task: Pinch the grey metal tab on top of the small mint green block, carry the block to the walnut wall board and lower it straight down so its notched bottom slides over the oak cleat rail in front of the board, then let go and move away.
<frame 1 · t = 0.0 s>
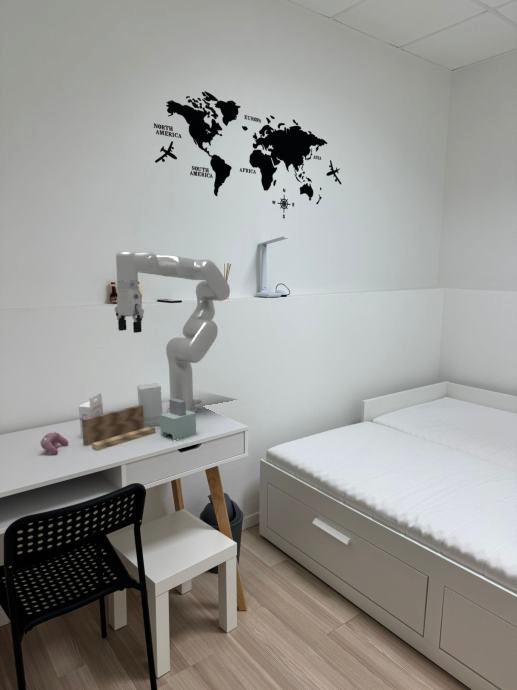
hand: (129, 331, 188), 37 cm above the table, tool pointing down, fingers open, 9 cm apart
video game controller: (54, 450, 168), on the table
ink cartridge box: (92, 434, 184), on the table
skincare box: (150, 424, 195), on the table
mint green block: (178, 434, 182), on the table
wall board: (125, 440, 177), on the table
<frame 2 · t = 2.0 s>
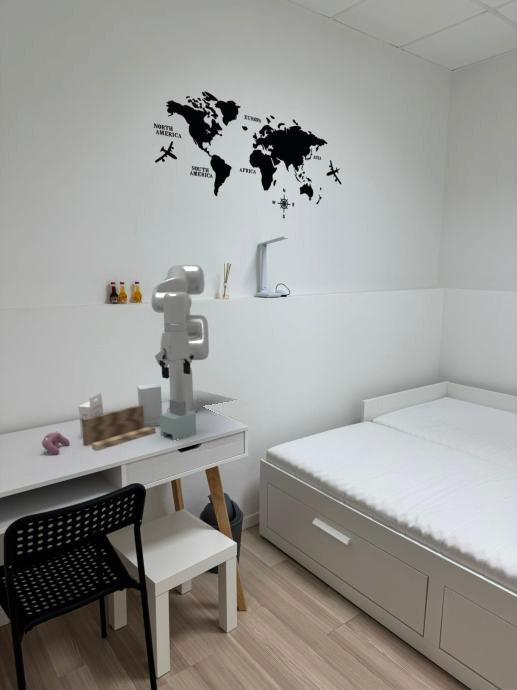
hand: (176, 375, 179), 22 cm above the table, tool pointing down, fingers open, 9 cm apart
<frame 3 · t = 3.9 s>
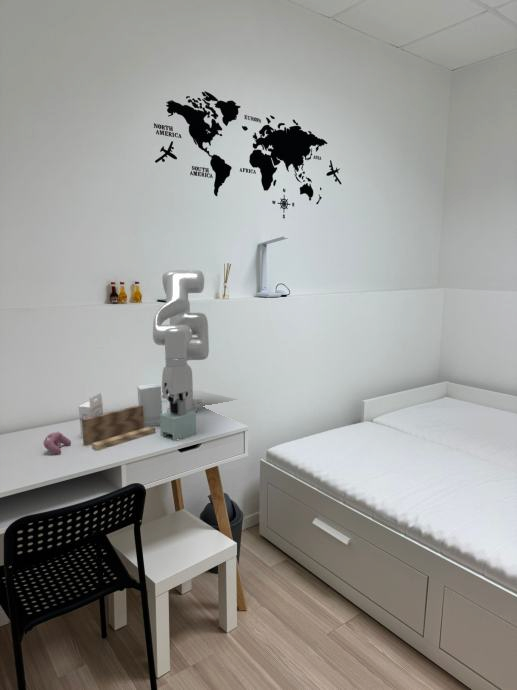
hand: (177, 411, 181), 9 cm above the table, tool pointing down, fingers closed on mint green block, 2 cm apart
mint green block: (178, 434, 182), on the table, touching gripper
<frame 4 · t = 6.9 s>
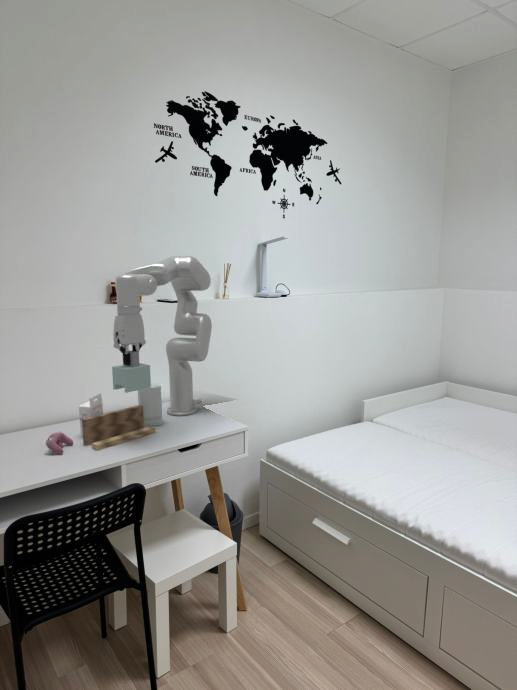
hand: (130, 363, 174), 27 cm above the table, tool pointing down, fingers closed on mint green block, 2 cm apart
mint green block: (132, 388, 175), point 19 cm above the table, touching gripper
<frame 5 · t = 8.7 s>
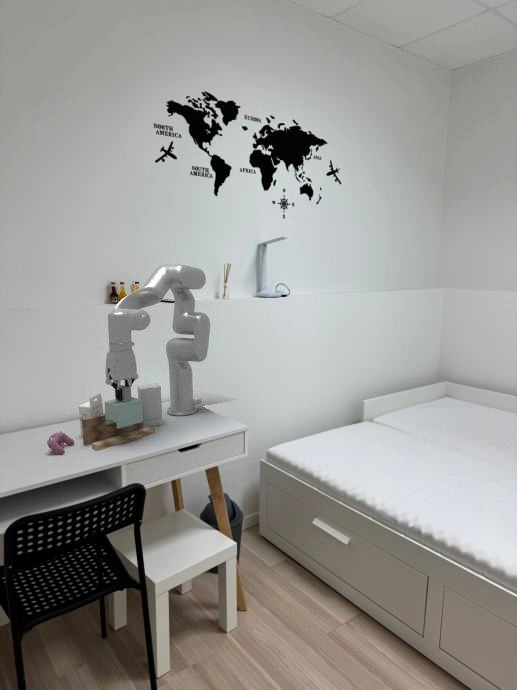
hand: (123, 398, 175), 15 cm above the table, tool pointing down, fingers closed on mint green block, 2 cm apart
mint green block: (124, 422, 176), point 6 cm above the table, touching gripper
when the fingers open (10 cm above the table, at t = 10.2 s): mint green block stays where it is, resting in wall board.
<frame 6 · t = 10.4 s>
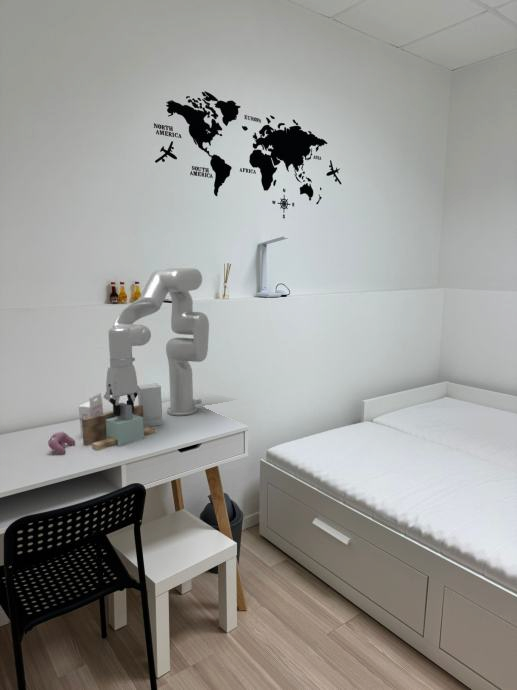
hand: (123, 413, 176), 10 cm above the table, tool pointing down, fingers open, 4 cm apart
mint green block: (125, 440, 177), resting in wall board
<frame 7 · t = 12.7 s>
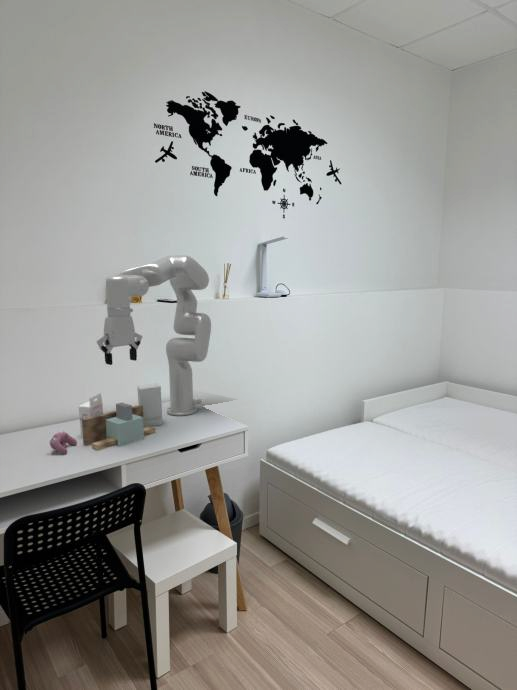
hand: (121, 362, 173), 28 cm above the table, tool pointing down, fingers open, 9 cm apart
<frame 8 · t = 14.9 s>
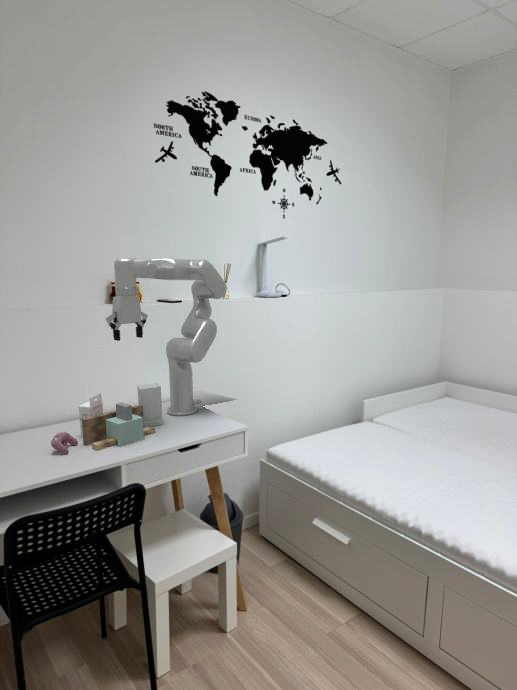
hand: (128, 338, 186), 34 cm above the table, tool pointing down, fingers open, 9 cm apart
at the end: mint green block inside the target area on the wall board (0.1 cm from its centre), point 0.0 cm above the wall board's base; mint green block tilted 0°; the gripper is holding nothing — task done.
